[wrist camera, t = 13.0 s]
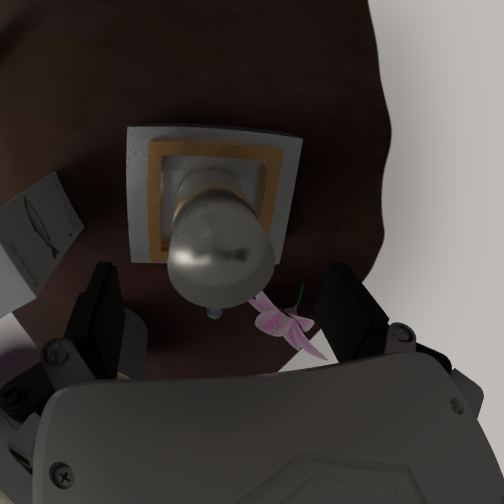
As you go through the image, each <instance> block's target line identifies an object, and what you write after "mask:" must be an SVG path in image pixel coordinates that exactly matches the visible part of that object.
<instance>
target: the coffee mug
mask: <svg viewBox="0 0 504 504" xmlns="http://www.w3.org/2000/svg"><path fill="white" fill-rule="evenodd" d="M124 311H125V326H124V332H123V338H122V344H121V351H120V358H119V365H118V373H117V379H144V378H145V363H146V351H147V340H148V331H147V328H146V325H145V323H144V322H143V320H142V319H141V318H140V317H139V316H138V315H137V314H136V313H134V312H133V311H131V310H130V309H128V308H126V307H124Z"/></svg>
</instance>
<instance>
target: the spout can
mask: <svg viewBox="0 0 504 504" xmlns="http://www.w3.org/2000/svg"><path fill="white" fill-rule="evenodd" d="M167 267H168V274H169V278H170V280H171V282H172V284H173V286H174V288H175V289H176V290H177V291H178V293H179V294H181V295H182V296H183V297H184V298H185V299H187V300H188V301H190V302H192V303H194V304H196V305H199V306H203V307H207V315H208V316H209V317H210V318H211V319H218V318H219V317H221V315H222V311H223V308H229V307H234V306H237V305H240V304H243V303H245V302H247V301H249V300H250V299H252V298H254V297H255V296H256V295H257V294H259V293H260V292H261V291H262V290H263V289H264V288H265V286H266V285H267V284H268V282H269V280H270V279H271V276H272V274H273V271H274V267H275V252H274V248H273V245H272V243H271V241H270V239H269V237H268V235H267V233H266V232H265V230H264V228H263V226H262V224H261V223H260V221H259V219H258V217H257V215H256V214H255V212H254V210H253V208H252V206H251V204H250V203H249V201H248V199H247V197H246V196H245V194H244V192H243V190H242V188H241V187H240V185H239V183H238V182H237V180H236V179H235V178H234V177H233V176H232V175H230V174H229V173H227V172H225V171H223V170H220V169H214V168H207V169H202V170H199V171H196V172H194V173H192V174H191V175H189V176H188V177H187V178H186V179H185V180H184V181H183V183H182V184H181V186H180V188H179V190H178V193H177V198H176V204H175V211H174V217H173V224H172V231H171V238H170V246H169V254H168V265H167Z"/></svg>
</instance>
